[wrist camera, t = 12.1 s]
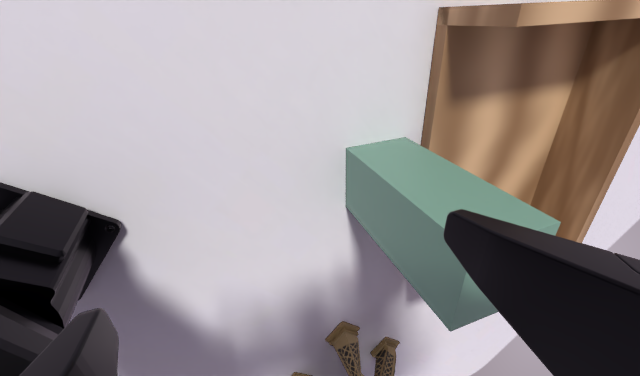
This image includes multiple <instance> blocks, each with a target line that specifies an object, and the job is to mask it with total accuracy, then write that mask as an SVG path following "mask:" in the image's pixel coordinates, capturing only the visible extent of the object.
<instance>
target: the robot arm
mask: <svg viewBox="0 0 640 376" xmlns="http://www.w3.org/2000/svg"><path fill="white" fill-rule="evenodd" d="M109 225H110V226H113V227H115V228H114V229H109V228H107V226H109ZM120 228H121V223H120V222H119V221H118V220H116V219H114V218H111V217H107V216H104V215H101V214H98V213H95V212H92V211H89V210H86V209H85V208H83V207H80V206H77V205H74V204H71V203H68V202H64V201H61V200H58V199H55V198H52V197H49V196H46V195H42V194H39V193H36V192H29V191H25V190H22V189H19V188H16V187H13V186H10V185H6V184H3V183H0V376H117V363H118V346H119V338H118V333H117V331H116V329H115V327H114V325H113V324H112V322H111V320H110V318H109V317H108V315H107V313H106V312H105V310H104V309H102V308H97V309H93V310H90V311H86V312H82V313H80V314H78V315H77V316H76V317H75V318H74V319H73V320H72V321H71V322H70V323H69V321H70V319H71V316H72V314H73V311H74V309H75V306H76V304H77V301H78V300H80V299H81V297H82V295H83V294H84V292H85V290H86V289H87V287H88V285H89V283H90V282H91V280H92V278H93V276H94V275H95V273H96V271H97V270H98V268H99V266H100V264H101V263H102V261H103V259H104V257H105V256H106V254H107V252H108V251H109V249H110V247H111V245H112V244H113V242H114V240H115V238H116V237H117V235H118V233H119V231H120ZM443 236H444V240H445V242H446V244H447V245H448V246H449V248H450V249H451V251H452V252H453V253H454V255H455V256H456V258H457V259H458V261H459V262H460V263H461V265H462V266H463V268H464V269H465V270H466V272H467V273H468V275H469V276H470V277H471V279H472V280H473V281H474V283H475V284H476V285H477V287H478V288H479V289H480V290H481V291H482V293H483V294H484V295H485V296H486V297H487V298H488V300H489V301H490V302H491V303H492V304H493V305H494V307H495V308H496V309H497V310H498V311H499V313H500V314H501V315H502V316H503V317H504V318H505V320H506V321H507V322H508V323H509V324H510V325H511V327H512V328H513V329H514V330H515V331H516V332H517V334H518V335H519V336H520V337H521V338H522V339H523V340H524V342H525V343H526V344H527V345H528V346H529V348H530V349H531V350H532V351H533V352H534V353H535V355H536V356H537V357H538V358H539V359H540V360H541V362H542V363H543V364H544V365H545V366H546V367H547V369H548V370H549V371H550V372H551V373H552V374H553V376H640V260H638V259H635V258H631V257H627V256H624V255H621V254H617V253H614V254H613V253H612V252H610V251H607V250H603V249H600V248H596V247H593V246H589V245H586V244H582V243H579V242H575V241H572V240H568V239H565V238H561V237H558V236H554V235H551V234H547V233H544V232H540V231H537V230H533V229H530V228H526V227H523V226H520V225H516V224H513V223H509V222H506V221H502V220H499V219H495V218H492V217H488V216H485V215H481V214H478V213H474V212H471V211H467V210H464V209H459V210H455V211H452V212H450V213H449V214H448V215H447V218H446V223H445V228H444V233H443Z"/></svg>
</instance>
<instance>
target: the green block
mask: <svg viewBox="0 0 640 376" xmlns="http://www.w3.org/2000/svg"><path fill="white" fill-rule="evenodd" d="M346 207H347V208H348V210H349V211H350V212H351V213H352V214H353V216H354V217H355V218H356V219H357V220H358V222H359V223H360V224H361V225H362V226H363V228H364V229H365V230H366V231H367V232H368V234H369V235H370V236H371V237H372V238H373V240H374V241H375V242H376V243H377V244H378V246H379V247H380V248H381V249H382V250H383V252H384V253H385V254H386V255H387V256H388V258H389V259H390V260H391V261H392V262H393V264H394V265H395V266H396V267H397V268H398V270H399V271H400V272H401V273H402V274H403V276H404V277H405V278H406V279H407V280H408V282H409V283H410V284H411V285H412V286H413V288H414V289H415V290H416V291H417V292H418V294H419V295H420V296H421V297H422V298H423V300H424V301H425V302H426V303H427V304H428V306H429V307H430V308H431V309H432V310H433V312H434V313H435V314H436V315H437V316H438V318H439V319H440V320H441V321H442V322H443V324H444V325H445V326H446V327H447V328H448V330H449V331H453V330H455V329H458V328H460V327H463V326H465V325H467V324H470V323H472V322H475V321H477V320H479V319H482V318H484V317H487V316H489V315H492V314H494V313H496V312H499V311H498V310H497V309H496V308H495V307H494V305H493V304H492V303H491V302H490V301H489V300H488V298H487V297H486V296H485V295H484V294H483V293H482V291H481V290H480V289H479V288H478V287H477V285H476V284H475V283H474V281H473V280H472V279H471V277H470V276H469V275H468V273H467V272H466V270H465V269H464V268H463V266H462V265H461V263H460V262H459V261H458V259H457V258H456V256H455V255H454V253H453V252H452V251H451V249H450V248H449V246H448V245H447V244H446V242H445V240H444V236H443V233H444V228H445V223H446V218H447V215H448V214H449V213H450V212H452V211H455V210H459V209H464V210H467V211H471V212H474V213H478V214H481V215H485V216H488V217H492V218H495V219H499V220H502V221H506V222H509V223H513V224H516V225H520V226H523V227H526V228H530V229H533V230H537V231H540V232H544V233H547V234H551V235H554V236H555V235H556V233H557V230H558V228H559V226H560V223H561V222H560V221H558V220H556V219H554V218H552V217H551V216H549V215H547V214H545V213H543V212H541V211H540V210H538V209H536V208H534V207H532V206H530V205H529V204H527V203H525V202H523V201H521V200H519V199H518V198H516V197H514V196H512V195H510V194H508V193H507V192H505V191H503V190H501V189H499V188H497V187H496V186H494V185H492V184H490V183H488V182H486V181H485V180H483V179H481V178H479V177H477V176H475V175H474V174H472V173H470V172H468V171H466V170H464V169H463V168H461V167H459V166H457V165H455V164H453V163H452V162H450V161H448V160H446V159H444V158H442V157H441V156H439V155H437V154H435V153H433V152H432V151H430V150H428V149H426V148H424V147H422V146H421V145H419V144H417V143H415V142H413V141H411V140H410V139H408V138H406V137H404V138H399V139H393V140H388V141H382V142H377V143H371V144H366V145H360V146H354V147H349V148H346Z"/></svg>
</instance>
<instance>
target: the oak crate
mask: <svg viewBox="0 0 640 376" xmlns="http://www.w3.org/2000/svg"><path fill="white" fill-rule="evenodd" d="M639 125H640V0H590V1H567V2H544V3H521V4H501V5H480V6H460V7H439V12H438V19H437V27H436V34H435V42H434V49H433V57H432V65H431V72H430V80H429V87H428V95H427V103H426V110H425V118H424V125H423V133H422V141H421V146H422V147H424V148H426V149H428V150H430V151H432V152H433V153H435V154H437V155H439V156H441V157H442V158H444V159H446V160H448V161H450V162H452V163H453V164H455V165H457V166H459V167H461V168H463V169H464V170H466V171H468V172H470V173H472V174H474V175H475V176H477V177H479V178H481V179H483V180H485V181H486V182H488V183H490V184H492V185H494V186H496V187H497V188H499V189H501V190H503V191H505V192H507V193H508V194H510V195H512V196H514V197H516V198H518V199H519V200H521V201H523V202H525V203H527V204H529V205H530V206H532V207H534V208H536V209H538V210H540V211H541V212H543V213H545V214H547V215H549V216H551V217H552V218H554V219H556V220H558V221H560V222H561V223H560V226H559V228H558V230H557V233H556V235H555V236H558V237H561V238H565V239H568V240H572V241H575V242H579V243H582V241H583V239H584V237H585V235H586V233H587V231H588V229H589V227H590V225H591V223H592V221H593V219H594V217H595V215H596V213H597V211H598V209H599V207H600V205H601V203H602V201H603V199H604V197H605V194H606V192H607V190H608V188H609V186H610V184H611V182H612V180H613V178H614V176H615V174H616V172H617V170H618V168H619V166H620V164H621V162H622V160H623V158H624V156H625V154H626V152H627V150H628V148H629V146H630V144H631V141H632V139H633V137H634V135H635V133H636V131H637V129H638V127H639Z"/></svg>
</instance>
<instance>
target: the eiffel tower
mask: <svg viewBox="0 0 640 376" xmlns="http://www.w3.org/2000/svg"><path fill="white" fill-rule="evenodd" d="M359 329H360V328H359V327H358V326H355V325H352V324H349V323H347V322H344V321H342V322H341V323H340V324H339V325H338V326H337V327H336V328H335V329H334V330H333V331H332V332H331V334H330V335H329V336H328V337H327V338H326V339H325V340H326V342H329V344H330V345H332V346H334V348H335V350H336V352H337V354H338V356H339V357H340V359H341V361H342V363H343V365H344V367H345V369H346V371H347V373H348V375H349V376H364V375H363V374H362V373H361V366H360V355H359V343H358V338H357V335H358V332H357V331H358V330H359ZM399 343H400V342H399V341H397V340H394V339H391V338H388V337H385V338H384V339H383V340H382V341H381V342H380V343H379V344H378V345H377V346H376V347H375V348H374V349H373V350H372V351H371V352H370V353H371V355H372V357H374V358H376V364H375V375H374V376H394V373H395V363H396V352H395V349H396V348H397V345H398V344H399ZM291 376H312V375H307V374H302V373H296V372H294V373H293V374H292V375H291Z"/></svg>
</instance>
